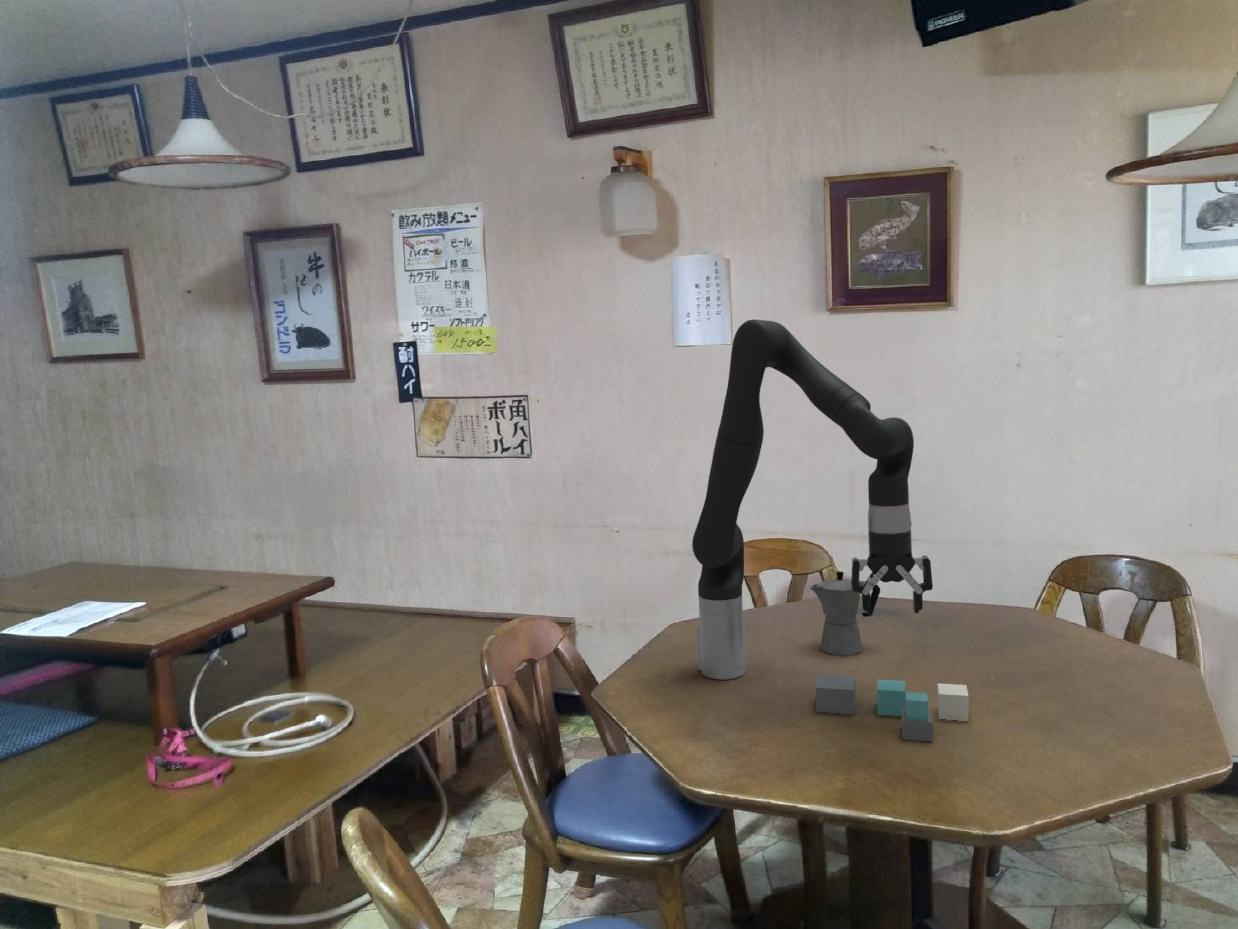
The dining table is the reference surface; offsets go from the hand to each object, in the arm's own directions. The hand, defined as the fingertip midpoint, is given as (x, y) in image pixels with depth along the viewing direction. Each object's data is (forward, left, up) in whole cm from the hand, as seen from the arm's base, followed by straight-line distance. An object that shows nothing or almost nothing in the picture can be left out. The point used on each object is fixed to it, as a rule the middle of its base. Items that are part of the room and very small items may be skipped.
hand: (892, 612), depth 164 cm
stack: (+9, -6, -19) cm, 22 cm away
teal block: (0, -1, -19) cm, 19 cm away
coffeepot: (-26, +20, -19) cm, 38 cm away
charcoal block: (-8, -6, -19) cm, 22 cm away
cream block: (+9, +5, -19) cm, 22 cm away
